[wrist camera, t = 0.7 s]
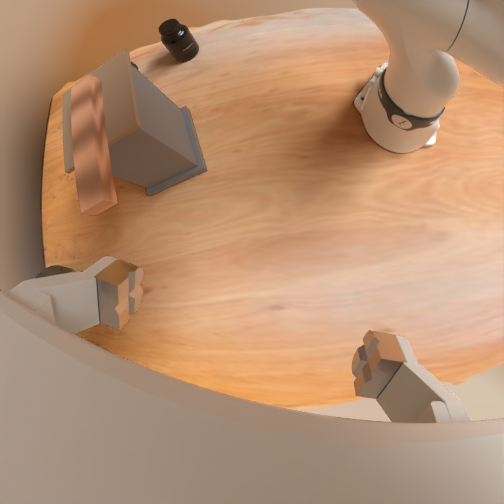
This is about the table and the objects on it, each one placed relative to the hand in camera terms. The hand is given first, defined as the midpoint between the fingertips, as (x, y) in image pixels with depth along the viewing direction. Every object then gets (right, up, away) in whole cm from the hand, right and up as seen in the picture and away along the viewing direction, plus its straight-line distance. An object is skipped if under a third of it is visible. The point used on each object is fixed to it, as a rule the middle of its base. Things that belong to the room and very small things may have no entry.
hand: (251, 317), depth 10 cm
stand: (-18, +24, +49) cm, 58 cm away
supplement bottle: (-16, +52, +49) cm, 73 cm away
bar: (-21, +17, +24) cm, 36 cm away
